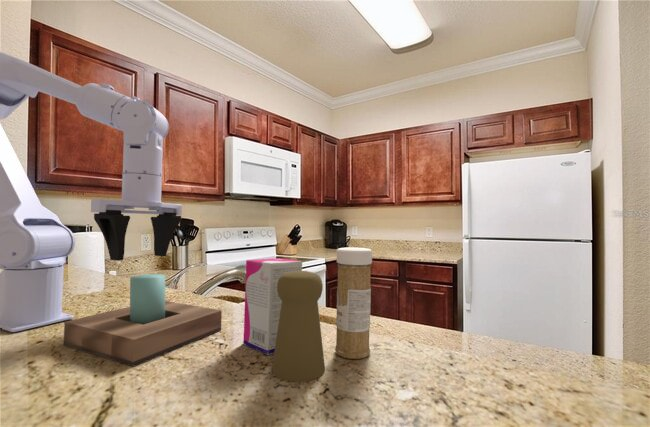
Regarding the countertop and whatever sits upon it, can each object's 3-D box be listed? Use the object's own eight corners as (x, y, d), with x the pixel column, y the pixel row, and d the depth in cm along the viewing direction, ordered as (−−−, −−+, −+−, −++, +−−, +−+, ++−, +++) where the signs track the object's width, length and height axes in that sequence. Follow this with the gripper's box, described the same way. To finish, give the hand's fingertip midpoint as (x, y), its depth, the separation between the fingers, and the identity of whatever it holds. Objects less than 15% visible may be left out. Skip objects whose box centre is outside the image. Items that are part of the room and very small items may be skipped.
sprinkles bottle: (332, 346, 43) (334, 246, 44) (365, 345, 44) (367, 246, 44) (338, 361, 39) (339, 249, 39) (375, 360, 39) (376, 249, 40)
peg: (123, 335, 45) (123, 277, 45) (153, 326, 49) (153, 273, 49) (141, 340, 43) (142, 280, 43) (171, 330, 47) (171, 275, 47)
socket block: (63, 344, 42) (64, 321, 42) (158, 317, 55) (158, 299, 55) (133, 366, 36) (134, 339, 37) (221, 330, 49) (221, 310, 49)
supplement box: (302, 343, 44) (303, 260, 45) (267, 356, 40) (269, 263, 40) (275, 333, 48) (277, 256, 49) (241, 343, 44) (243, 259, 44)
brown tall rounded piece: (318, 384, 33) (320, 277, 33) (263, 378, 34) (265, 274, 35) (329, 360, 39) (330, 269, 39) (282, 355, 40) (283, 267, 40)
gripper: (113, 167, 45) (109, 264, 45) (194, 180, 58) (192, 255, 58) (83, 170, 48) (80, 260, 48) (167, 182, 61) (165, 253, 61)
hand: (139, 257), depth 53 cm, fingers open, 7 cm apart
